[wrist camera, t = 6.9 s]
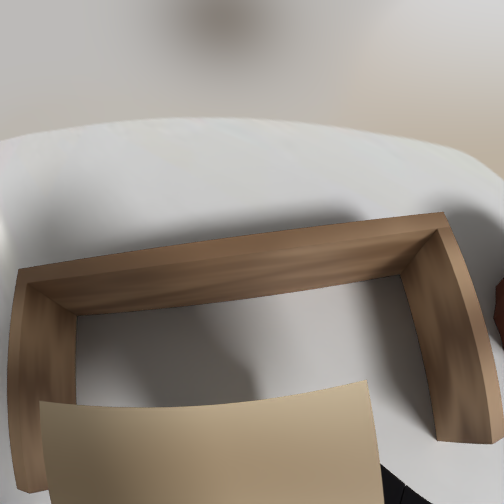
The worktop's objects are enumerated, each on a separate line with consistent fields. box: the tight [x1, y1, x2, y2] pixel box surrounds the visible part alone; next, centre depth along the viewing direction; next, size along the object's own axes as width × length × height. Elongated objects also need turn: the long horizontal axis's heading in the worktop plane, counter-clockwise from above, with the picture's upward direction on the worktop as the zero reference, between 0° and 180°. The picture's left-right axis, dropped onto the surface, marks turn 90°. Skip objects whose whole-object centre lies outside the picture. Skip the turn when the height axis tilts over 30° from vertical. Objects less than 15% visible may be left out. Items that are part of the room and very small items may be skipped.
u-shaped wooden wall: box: [7, 212, 504, 493], centre depth 15 cm, size 13×25×6 cm, turn 97°
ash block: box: [39, 380, 384, 504], centre depth 8 cm, size 5×5×12 cm
